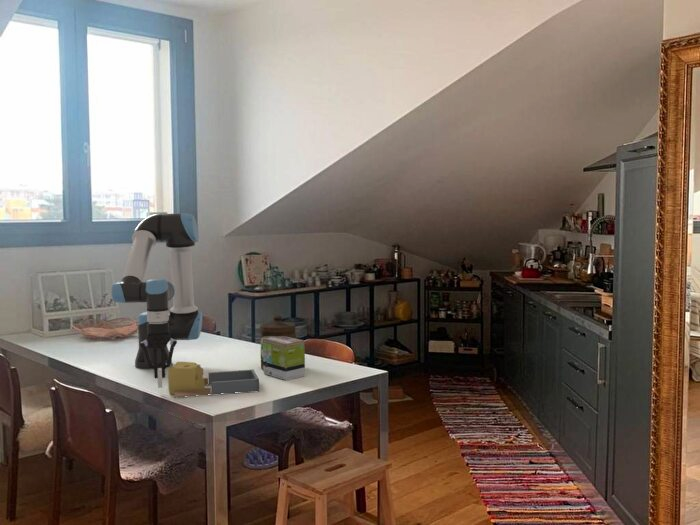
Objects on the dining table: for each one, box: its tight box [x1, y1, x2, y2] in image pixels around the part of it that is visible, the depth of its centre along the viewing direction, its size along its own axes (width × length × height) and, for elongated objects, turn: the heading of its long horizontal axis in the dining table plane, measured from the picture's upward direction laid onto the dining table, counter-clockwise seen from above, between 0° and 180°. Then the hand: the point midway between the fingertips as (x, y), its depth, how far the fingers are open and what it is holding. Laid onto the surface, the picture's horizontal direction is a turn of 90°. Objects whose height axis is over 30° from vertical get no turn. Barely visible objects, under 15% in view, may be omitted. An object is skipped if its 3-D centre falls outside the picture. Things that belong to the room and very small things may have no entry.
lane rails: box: [174, 377, 212, 398], centre depth 258 cm, size 16×12×2 cm
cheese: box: [167, 361, 206, 395], centre depth 257 cm, size 10×11×10 cm
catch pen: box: [207, 369, 260, 395], centre depth 262 cm, size 16×17×4 cm
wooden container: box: [259, 314, 297, 370], centre depth 293 cm, size 15×15×22 cm
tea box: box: [262, 336, 306, 381], centre depth 280 cm, size 15×10×15 cm, turn 44°
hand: (160, 386), depth 255 cm, fingers closed
